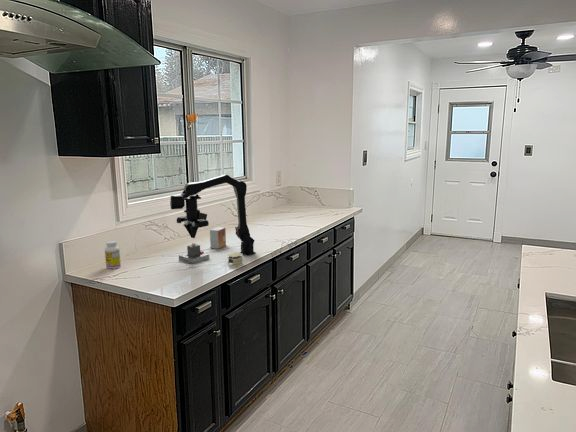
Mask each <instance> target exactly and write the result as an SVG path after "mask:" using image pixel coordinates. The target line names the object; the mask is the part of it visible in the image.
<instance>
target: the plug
mask: <svg viewBox="0 0 576 432" xmlns="http://www.w3.org/2000/svg"><path fill="white" fill-rule="evenodd" d="M186 250H187V253H188V256H190V257H196V256H199V255H200V251H201V245H200V244H196V243H195V242H193V243H192V242H191V244H190V245H187V249H186Z"/></svg>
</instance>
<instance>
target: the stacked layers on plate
mask: <svg viewBox="0 0 576 432" xmlns="http://www.w3.org/2000/svg"><path fill="white" fill-rule="evenodd" d="M243 258H244V255H243V254H241V253H240V252H235V253H229V254H228V253H227V259H228V260H227V263H228V264H232V266H233V267H236V268H237V267H239V266H241V265H243V264H244V263H243V262H244V260H243Z"/></svg>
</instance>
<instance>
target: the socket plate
mask: <svg viewBox="0 0 576 432" xmlns="http://www.w3.org/2000/svg"><path fill="white" fill-rule="evenodd" d="M208 260H210V254H209V253H206V252H204V250H200V255H199V256H196V257H190V256H188V252H186V253H182V254H179V255H178V261H182V262H184V263H188V264H191V265H194V264H198V263H201V262H204V261H208Z"/></svg>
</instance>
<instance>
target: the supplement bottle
mask: <svg viewBox="0 0 576 432" xmlns="http://www.w3.org/2000/svg"><path fill="white" fill-rule="evenodd" d="M105 243H106V244H105V245H106V247H105V248H104V254H105V255H104V258H105V267H106V269H108V268H110V269H109V270H112V269H111V268H116V269H118V267H119V268H120V267H121V265H122V263H121V252H120V250H121V249H120V247H119V246H118V245H117V244H118V243H117V241H116V240H109V241H107V242H105Z"/></svg>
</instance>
